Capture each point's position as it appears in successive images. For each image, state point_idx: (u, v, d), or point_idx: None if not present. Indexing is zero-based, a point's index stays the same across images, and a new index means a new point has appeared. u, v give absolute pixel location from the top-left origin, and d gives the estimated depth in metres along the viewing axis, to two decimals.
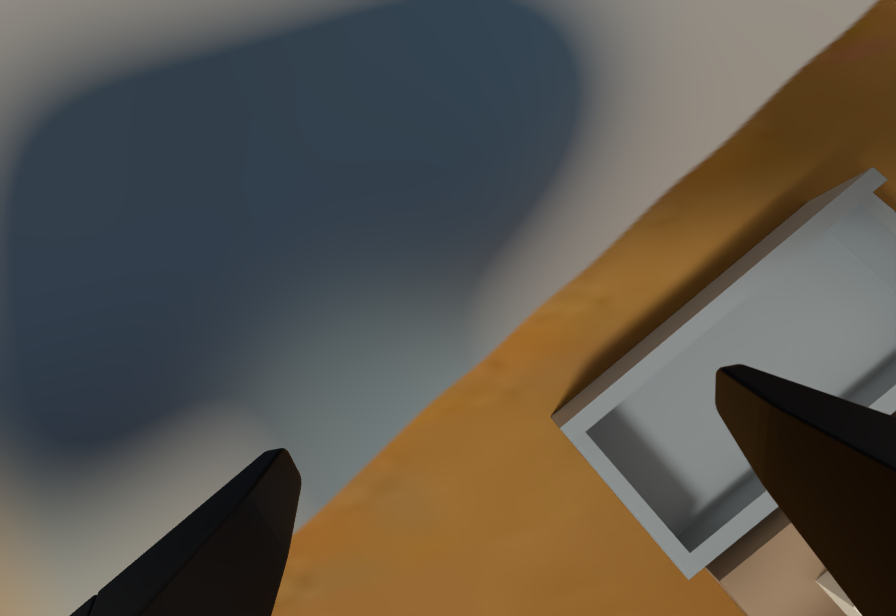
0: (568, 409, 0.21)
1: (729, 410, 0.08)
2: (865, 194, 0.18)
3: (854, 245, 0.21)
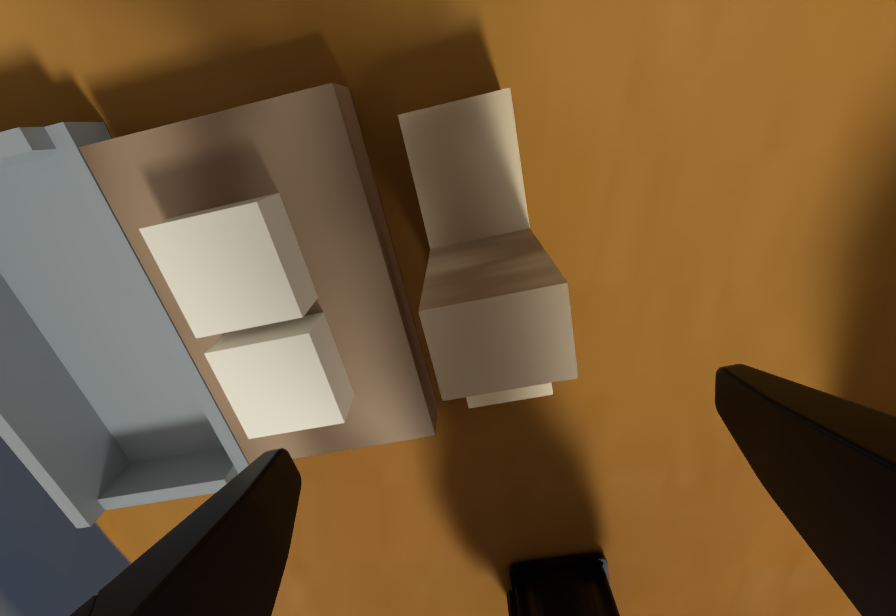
0: None
1: (729, 410, 0.08)
2: None
3: None
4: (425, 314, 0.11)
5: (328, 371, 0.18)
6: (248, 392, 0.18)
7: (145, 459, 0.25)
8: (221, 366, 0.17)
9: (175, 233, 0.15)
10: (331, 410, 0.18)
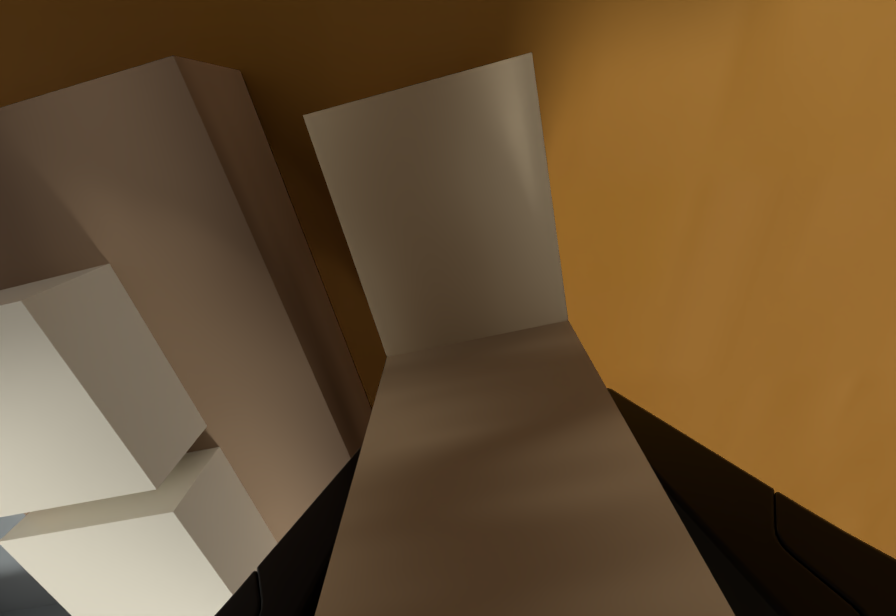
0: None
1: None
2: None
3: None
4: None
5: (224, 555, 0.10)
6: (89, 592, 0.10)
7: (14, 608, 0.18)
8: (33, 558, 0.10)
9: None
10: None
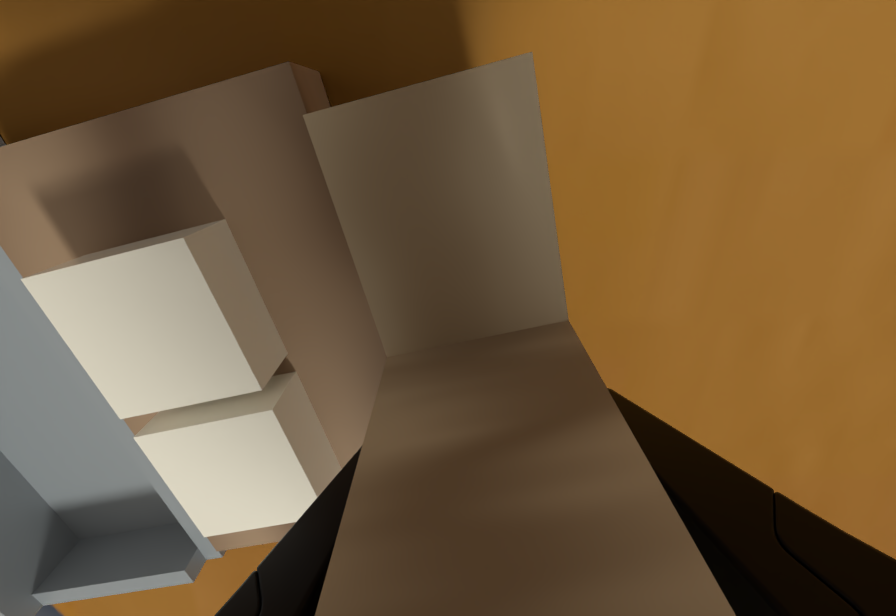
0: None
1: None
2: None
3: None
4: None
5: (303, 452, 0.13)
6: (198, 483, 0.13)
7: (96, 535, 0.20)
8: (158, 452, 0.13)
9: (72, 284, 0.10)
10: (309, 502, 0.14)
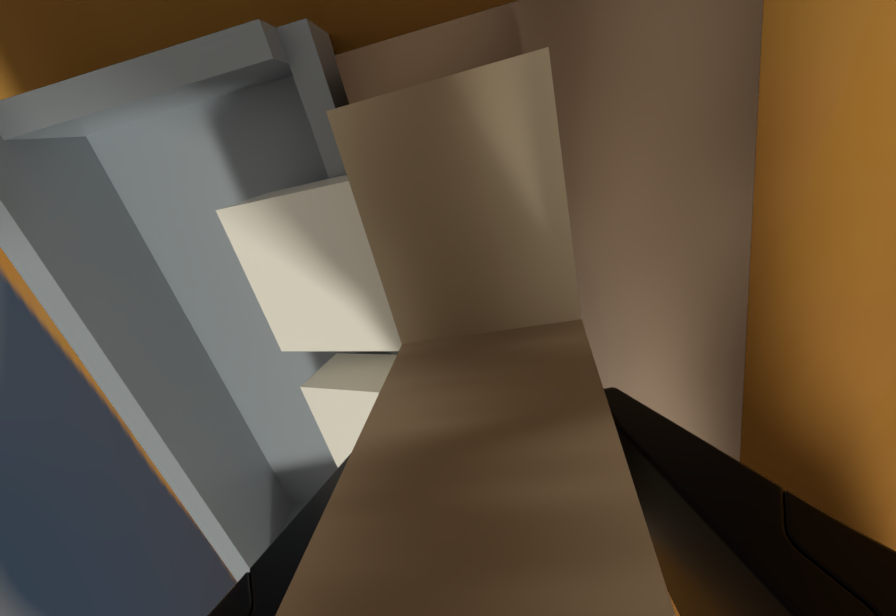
0: None
1: None
2: None
3: (134, 118, 0.12)
4: None
5: None
6: (345, 439, 0.14)
7: None
8: (317, 404, 0.14)
9: (254, 219, 0.11)
10: None
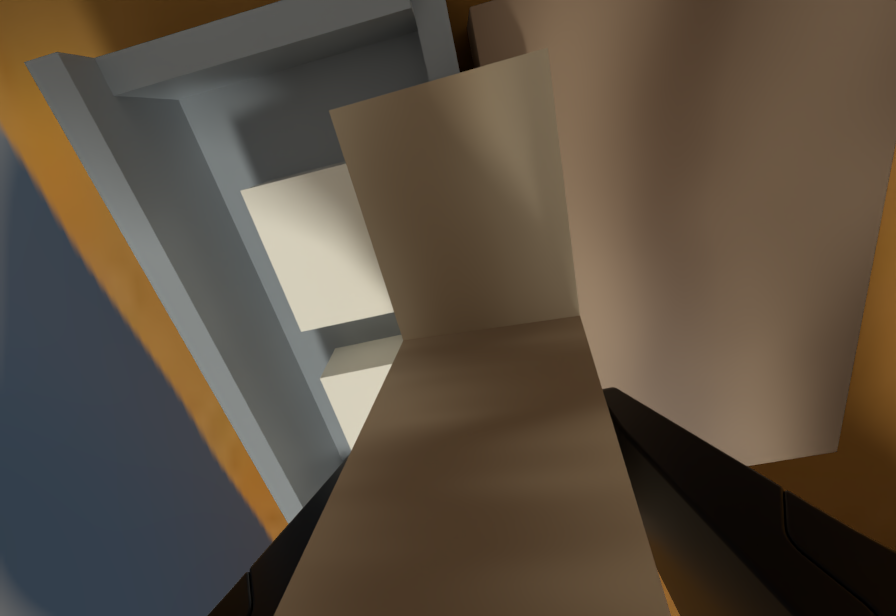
0: None
1: None
2: (83, 111, 0.09)
3: (235, 79, 0.12)
4: None
5: None
6: None
7: None
8: (339, 392, 0.14)
9: (287, 195, 0.12)
10: None
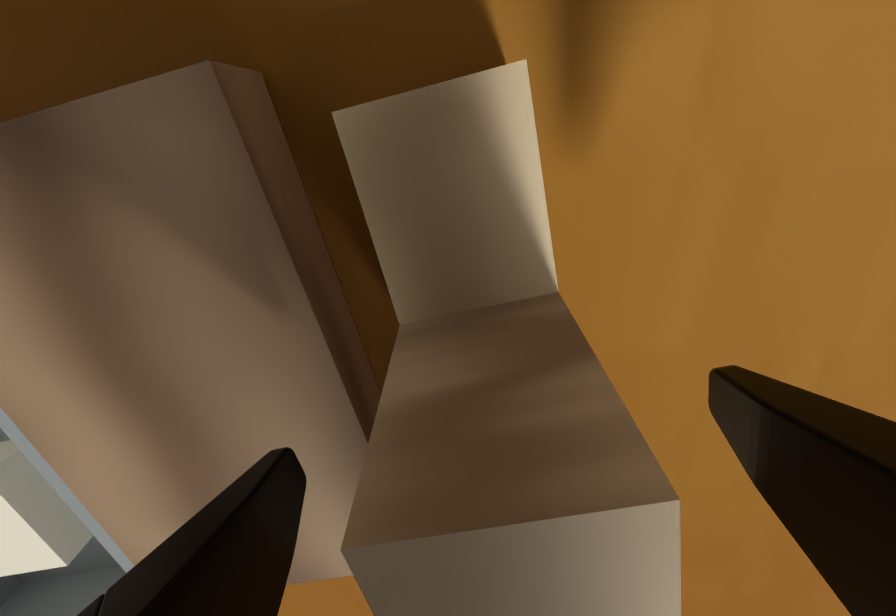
0: None
1: (722, 411, 0.08)
2: None
3: None
4: (356, 554, 0.05)
5: (35, 510, 0.15)
6: None
7: (41, 576, 0.19)
8: None
9: None
10: (46, 553, 0.15)
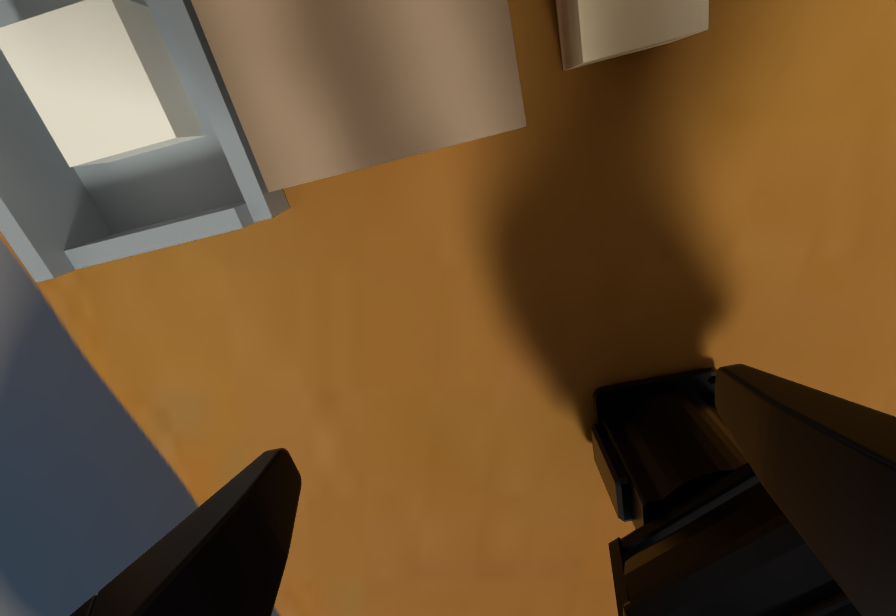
0: None
1: (729, 410, 0.08)
2: None
3: None
4: None
5: (149, 64, 0.15)
6: (55, 92, 0.15)
7: (130, 227, 0.19)
8: (14, 51, 0.14)
9: None
10: (157, 117, 0.15)
